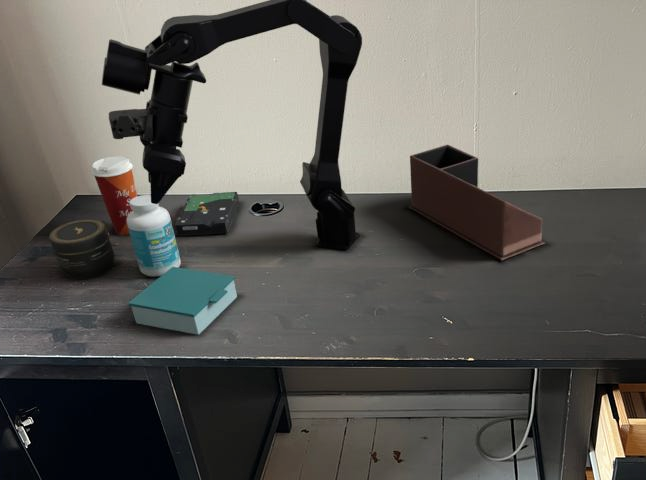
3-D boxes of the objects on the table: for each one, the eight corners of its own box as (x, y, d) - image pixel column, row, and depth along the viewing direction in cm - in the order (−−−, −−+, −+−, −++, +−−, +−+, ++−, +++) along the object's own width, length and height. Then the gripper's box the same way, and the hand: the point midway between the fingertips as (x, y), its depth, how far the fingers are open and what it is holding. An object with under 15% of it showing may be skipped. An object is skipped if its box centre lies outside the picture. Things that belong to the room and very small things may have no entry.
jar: (95, 250, 142) (84, 214, 138) (128, 263, 138) (117, 225, 133) (50, 272, 136) (36, 235, 131) (83, 286, 131) (69, 248, 127)
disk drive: (229, 234, 145) (239, 202, 157) (227, 222, 144) (237, 190, 156) (177, 238, 145) (191, 205, 157) (174, 225, 144) (188, 193, 156)
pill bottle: (160, 282, 131) (141, 212, 123) (132, 272, 134) (111, 204, 126) (190, 264, 136) (173, 195, 128) (162, 255, 139) (144, 188, 131)
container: (244, 297, 125) (240, 277, 123) (205, 337, 116) (200, 315, 114) (177, 286, 130) (172, 266, 127) (134, 323, 120) (128, 303, 118)
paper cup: (137, 238, 146) (118, 170, 138) (102, 236, 147) (81, 169, 139) (155, 220, 152) (138, 155, 144) (122, 219, 153) (102, 154, 145)
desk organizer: (448, 194, 156) (448, 142, 149) (545, 244, 136) (549, 187, 129) (408, 208, 151) (405, 155, 144) (501, 262, 131) (503, 203, 124)
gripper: (115, 73, 121) (102, 163, 128) (116, 105, 107) (101, 204, 114) (184, 91, 126) (168, 177, 133) (194, 124, 112) (175, 218, 119)
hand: (152, 192), depth 125 cm, fingers open, 9 cm apart
